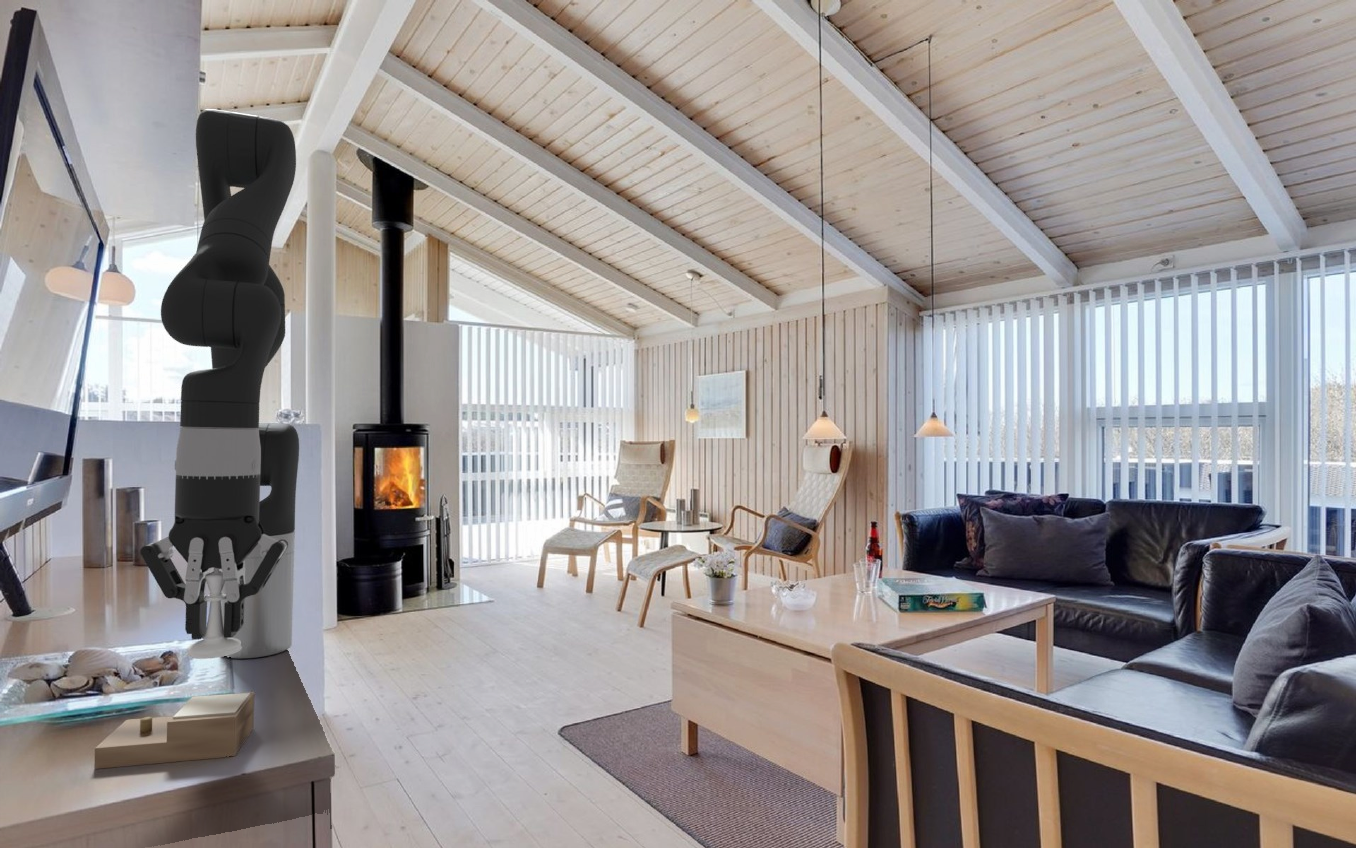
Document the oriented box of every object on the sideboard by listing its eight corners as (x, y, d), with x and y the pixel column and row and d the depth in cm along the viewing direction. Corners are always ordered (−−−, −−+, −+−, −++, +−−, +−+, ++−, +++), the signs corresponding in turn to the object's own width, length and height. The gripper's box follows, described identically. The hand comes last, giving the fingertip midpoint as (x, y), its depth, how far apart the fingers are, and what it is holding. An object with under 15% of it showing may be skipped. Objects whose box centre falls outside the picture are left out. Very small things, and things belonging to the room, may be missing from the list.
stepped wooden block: (126, 738, 78) (127, 699, 78) (253, 728, 81) (254, 690, 81) (94, 769, 71) (95, 725, 71) (234, 756, 74) (235, 714, 74)
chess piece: (246, 653, 76) (248, 557, 76) (190, 662, 73) (192, 561, 73) (236, 642, 80) (238, 550, 80) (182, 650, 77) (184, 554, 77)
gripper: (300, 469, 82) (295, 624, 82) (156, 468, 78) (152, 630, 78) (284, 473, 75) (279, 643, 75) (125, 472, 71) (120, 651, 71)
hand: (214, 636), depth 77 cm, fingers closed on chess piece, 2 cm apart
